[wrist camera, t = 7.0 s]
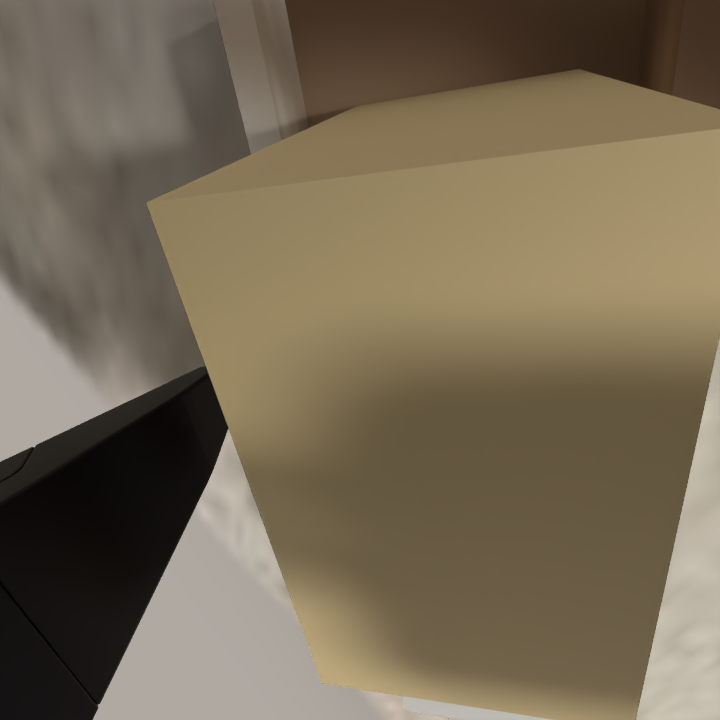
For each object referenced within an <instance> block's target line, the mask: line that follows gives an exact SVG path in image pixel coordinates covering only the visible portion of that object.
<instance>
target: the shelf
mask: <svg viewBox="0 0 720 720" xmlns="http://www.w3.org/2000/svg"><path fill="white" fill-rule="evenodd" d="M213 3H214V8H215V12H216V16H217V20H218V24H219V28H220V32H221V36H222V40H223V44H224V48H225V52H226V56H227V60H228V64H229V68H230V72H231V76H232V80H233V84H234V88H235V92H236V96H237V100H238V104H239V109H240V113H241V117H242V121H243V125H244V129H245V133H246V137H247V141H248V145H249V149H250V153H251V154H253V153H255V152H258V151H260V150H262V149H264V148H266V147H269V146H271V145H273V144H275V143H277V142H279V141H282V140H284V139H286V138H288V137H290V136H293V135H295V134H297V133H299V132H301V131H304V130H306V129H308V128H310V127H312V126H314V125H317V124H319V123H321V122H323V121H325V120H328V119H330V118H332V117H334V116H336V115H339V114H341V113H343V112H345V111H347V110H349V109H352V108H354V107H356V106H361V105H367V104H373V103H379V102H385V101H391V100H397V99H403V98H409V97H415V96H421V95H427V94H433V93H439V92H445V91H451V90H457V89H463V88H469V87H475V86H481V85H487V84H493V83H499V82H505V81H511V80H517V79H523V78H529V77H535V76H541V75H547V74H553V73H559V72H565V71H571V70H577V69H581V70H584V71H587V72H591V73H594V74H598V75H601V76H605V77H608V78H612V79H615V80H619V81H622V82H626V83H629V84H633V85H636V86H640V87H643V88H647V89H650V90H654V91H657V92H661V93H664V94H668V95H671V96H675V97H678V98H682V99H685V100H689V101H692V102H696V103H699V104H703V105H706V106H710V107H713V108H717V109H720V0H213Z"/></svg>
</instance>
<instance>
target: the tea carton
mask: <svg viewBox="0 0 720 720" xmlns="http://www.w3.org/2000/svg"><path fill="white" fill-rule="evenodd" d="M146 204H147V207H148V210H149V212H150V215H151V218H152V221H153V223H154V226H155V229H156V232H157V234H158V237H159V240H160V242H161V245H162V248H163V251H164V253H165V256H166V259H167V262H168V264H169V267H170V270H171V272H172V275H173V278H174V281H175V283H176V286H177V289H178V292H179V294H180V297H181V300H182V302H183V305H184V308H185V311H186V313H187V316H188V319H189V322H190V324H191V327H192V330H193V332H194V335H195V338H196V341H197V343H198V346H199V349H200V352H201V354H202V357H203V360H204V362H205V365H206V368H207V371H208V373H209V376H210V379H211V382H212V384H213V387H214V390H215V393H216V395H217V398H218V401H219V403H220V406H221V409H222V412H223V414H224V417H225V420H226V423H227V425H228V428H229V431H230V433H231V436H232V439H233V442H234V444H235V447H236V450H237V453H238V455H239V458H240V461H241V463H242V466H243V469H244V472H245V474H246V477H247V480H248V483H249V485H250V488H251V491H252V493H253V496H254V499H255V502H256V504H257V507H258V510H259V513H260V515H261V518H262V521H263V523H264V526H265V529H266V532H267V534H268V537H269V540H270V543H271V545H272V548H273V551H274V553H275V556H276V559H277V562H278V564H279V567H280V570H281V573H282V575H283V578H284V581H285V584H286V586H287V589H288V592H289V594H290V597H291V600H292V603H293V605H294V608H295V611H296V614H297V616H298V619H299V622H300V624H301V627H302V630H303V633H304V635H305V638H306V641H307V644H308V646H309V649H310V652H311V654H312V657H313V660H314V663H315V665H316V668H317V671H318V673H319V676H320V679H321V682H322V684H328V685H334V686H341V687H347V688H354V689H360V690H367V691H373V692H379V693H386V694H392V695H399V696H405V697H411V698H418V699H424V700H431V701H437V702H443V703H450V704H456V705H463V706H469V707H475V708H482V709H488V710H495V711H501V712H507V713H514V714H520V715H527V716H533V717H539V718H546V719H552V720H636V716H637V712H638V707H639V702H640V698H641V693H642V689H643V684H644V680H645V675H646V670H647V666H648V661H649V657H650V652H651V648H652V643H653V638H654V634H655V629H656V625H657V620H658V616H659V611H660V606H661V602H662V597H663V593H664V588H665V584H666V579H667V574H668V570H669V565H670V561H671V556H672V552H673V547H674V542H675V538H676V533H677V529H678V524H679V520H680V515H681V510H682V506H683V501H684V497H685V492H686V488H687V483H688V478H689V474H690V469H691V465H692V460H693V456H694V451H695V446H696V442H697V437H698V433H699V428H700V424H701V419H702V415H703V410H704V405H705V401H706V396H707V392H708V387H709V383H710V378H711V373H712V369H713V364H714V360H715V355H716V351H717V346H718V341H719V337H720V109H717V108H713V107H710V106H706V105H703V104H699V103H696V102H692V101H689V100H685V99H682V98H678V97H675V96H671V95H668V94H664V93H661V92H657V91H654V90H650V89H647V88H643V87H640V86H636V85H633V84H629V83H626V82H622V81H619V80H615V79H612V78H608V77H605V76H601V75H598V74H594V73H591V72H587V71H584V70H581V69H577V70H571V71H565V72H559V73H553V74H547V75H541V76H535V77H529V78H523V79H517V80H511V81H505V82H499V83H493V84H487V85H481V86H475V87H469V88H463V89H457V90H451V91H445V92H439V93H433V94H427V95H421V96H415V97H409V98H403V99H397V100H391V101H385V102H379V103H373V104H367V105H361V106H356V107H354V108H352V109H349V110H347V111H345V112H343V113H341V114H339V115H336V116H334V117H332V118H330V119H328V120H325V121H323V122H321V123H319V124H317V125H314V126H312V127H310V128H308V129H306V130H304V131H301V132H299V133H297V134H295V135H293V136H290V137H288V138H286V139H284V140H282V141H279V142H277V143H275V144H273V145H271V146H269V147H266V148H264V149H262V150H260V151H258V152H255V153H253V154H251V155H249V156H247V157H244V158H242V159H240V160H238V161H236V162H233V163H231V164H229V165H227V166H225V167H223V168H220V169H218V170H216V171H214V172H212V173H209V174H207V175H205V176H203V177H201V178H198V179H196V180H194V181H192V182H190V183H188V184H185V185H183V186H181V187H179V188H177V189H174V190H172V191H170V192H168V193H166V194H163V195H161V196H159V197H157V198H155V199H153V200H150V201H148V202H146Z"/></svg>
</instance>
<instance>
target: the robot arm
mask: <svg viewBox="0 0 720 720" xmlns="http://www.w3.org/2000/svg"><path fill="white" fill-rule="evenodd" d="M227 431H228V425H227V423H226V420H225V417H224V414H223V412H222V409H221V406H220V403H219V401H218V398H217V395H216V393H215V390H214V387H213V384H212V382H211V379H210V376H209V373H208V371H207V368H206V366H204V367H200V368H198V369H196V370H194V371H191V372H189V373H187V374H185V375H183V376H181V377H179V378H177V379H175V380H172V381H170V382H168V383H166V384H164V385H162V386H160V387H158V388H156V389H153V390H151V391H149V392H147V393H145V394H143V395H141V396H139V397H137V398H134V399H132V400H130V401H128V402H126V403H124V404H122V405H120V406H118V407H115V408H113V409H111V410H109V411H107V412H105V413H103V414H101V415H99V416H96V417H94V418H92V419H90V420H88V421H86V422H84V423H82V424H80V425H77V426H75V427H73V428H71V429H69V430H67V431H65V432H63V433H61V434H59V435H56V436H54V437H52V438H50V439H48V440H46V441H44V442H42V443H40V444H37V445H36V446H35V448H34V447H31V448H29V449H27V450H25V451H22V452H20V453H18V454H16V455H14V456H12V457H10V458H8V459H5V460H3V461H1V462H0V720H93V718H94V716H95V713H96V711H97V710H98V704H100V703H101V701H102V698H103V697H104V694H105V692H106V690H107V688H108V686H109V684H110V682H111V680H112V678H113V676H114V674H115V672H116V670H117V668H118V666H119V664H120V661H121V660H122V657H123V655H124V653H125V651H126V649H127V647H128V645H129V643H130V641H131V639H132V637H133V635H134V633H135V631H136V628H137V627H138V624H139V623H140V620H141V618H142V616H143V614H144V612H145V610H146V608H147V606H148V604H149V602H150V600H151V598H152V596H153V593H154V592H155V590H156V587H157V585H158V583H159V581H160V579H161V577H162V575H163V573H164V571H165V569H166V567H167V565H168V563H169V561H170V559H171V557H172V555H173V553H174V550H175V549H176V546H177V544H178V542H179V540H180V538H181V536H182V534H183V532H184V530H185V528H186V526H187V524H188V522H189V520H190V518H191V516H192V514H193V511H194V509H195V507H196V505H197V503H198V501H199V499H200V497H201V495H202V493H203V491H204V489H205V487H206V485H207V483H208V480H209V478H210V476H211V474H212V471H213V469H214V466H215V464H216V461H217V458H218V456H219V453H220V450H221V447H222V445H223V442H224V439H225V436H226V433H227Z"/></svg>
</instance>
